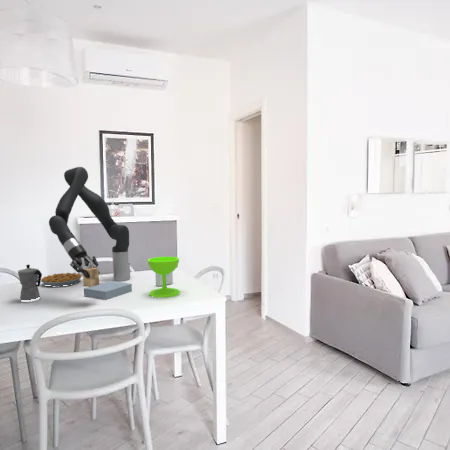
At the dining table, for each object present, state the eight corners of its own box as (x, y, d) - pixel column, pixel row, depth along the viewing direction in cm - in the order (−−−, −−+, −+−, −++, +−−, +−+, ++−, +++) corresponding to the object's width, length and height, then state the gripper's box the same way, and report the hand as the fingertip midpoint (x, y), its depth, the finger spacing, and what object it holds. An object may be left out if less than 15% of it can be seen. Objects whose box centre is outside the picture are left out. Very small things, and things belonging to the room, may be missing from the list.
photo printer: (169, 282, 228) (168, 261, 227) (174, 283, 225) (173, 262, 224) (154, 285, 221) (153, 264, 220) (159, 286, 218) (158, 265, 217)
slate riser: (110, 287, 218) (109, 280, 217) (131, 291, 210) (131, 283, 210) (84, 295, 202) (83, 288, 202) (106, 299, 194) (106, 291, 194)
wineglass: (183, 289, 211) (181, 256, 209) (176, 297, 195) (175, 262, 194) (154, 289, 213) (152, 256, 211) (145, 297, 197) (143, 262, 195)
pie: (54, 279, 244) (54, 271, 243) (88, 279, 241) (87, 271, 241) (33, 288, 222) (33, 279, 221) (70, 288, 219) (69, 279, 219)
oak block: (92, 283, 191) (90, 267, 190) (99, 284, 188) (98, 268, 187) (83, 286, 186) (82, 269, 185) (91, 287, 184) (89, 270, 183)
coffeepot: (12, 301, 195) (10, 265, 194) (29, 296, 204) (26, 262, 202) (34, 304, 189) (32, 267, 187) (50, 299, 197) (48, 263, 196)
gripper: (65, 246, 183) (85, 274, 178) (89, 242, 195) (108, 268, 190) (58, 257, 186) (77, 284, 181) (83, 252, 198) (101, 277, 194)
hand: (93, 275), depth 186 cm, fingers closed on oak block, 5 cm apart
